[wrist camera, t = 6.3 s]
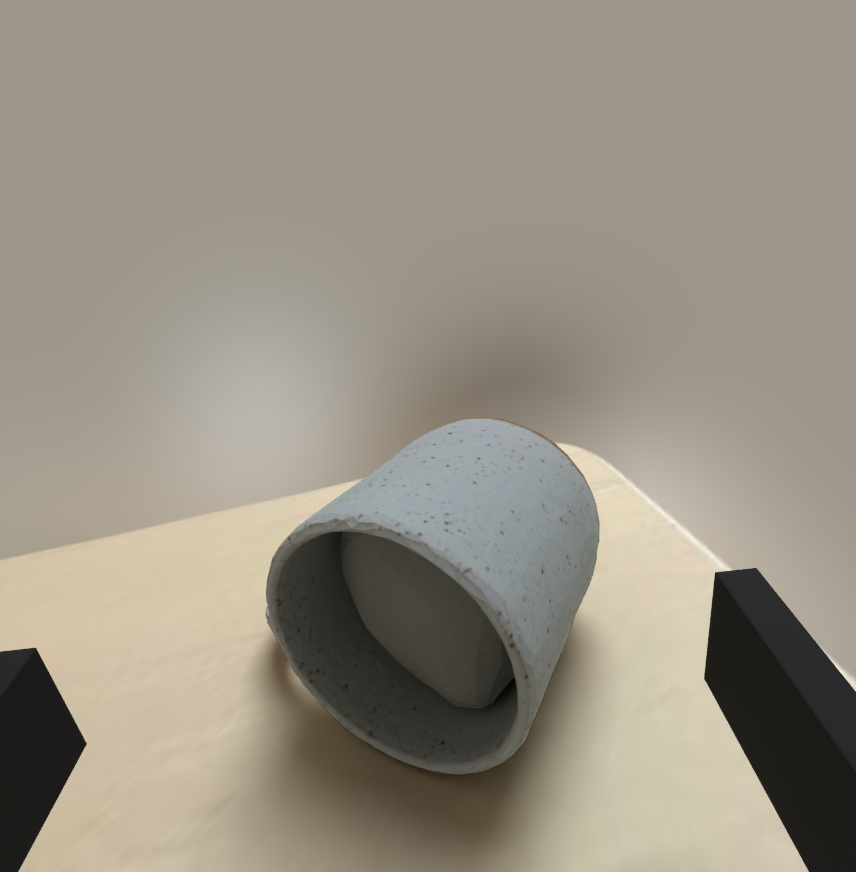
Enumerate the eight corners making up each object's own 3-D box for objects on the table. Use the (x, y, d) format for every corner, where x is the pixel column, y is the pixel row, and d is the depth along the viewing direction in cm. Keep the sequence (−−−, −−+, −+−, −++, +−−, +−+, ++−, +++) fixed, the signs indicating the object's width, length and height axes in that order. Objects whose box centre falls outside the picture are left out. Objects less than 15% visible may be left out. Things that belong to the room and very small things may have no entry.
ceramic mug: (612, 601, 21) (610, 395, 18) (540, 821, 15) (516, 563, 12) (356, 549, 26) (318, 380, 23) (219, 698, 20) (139, 492, 17)
